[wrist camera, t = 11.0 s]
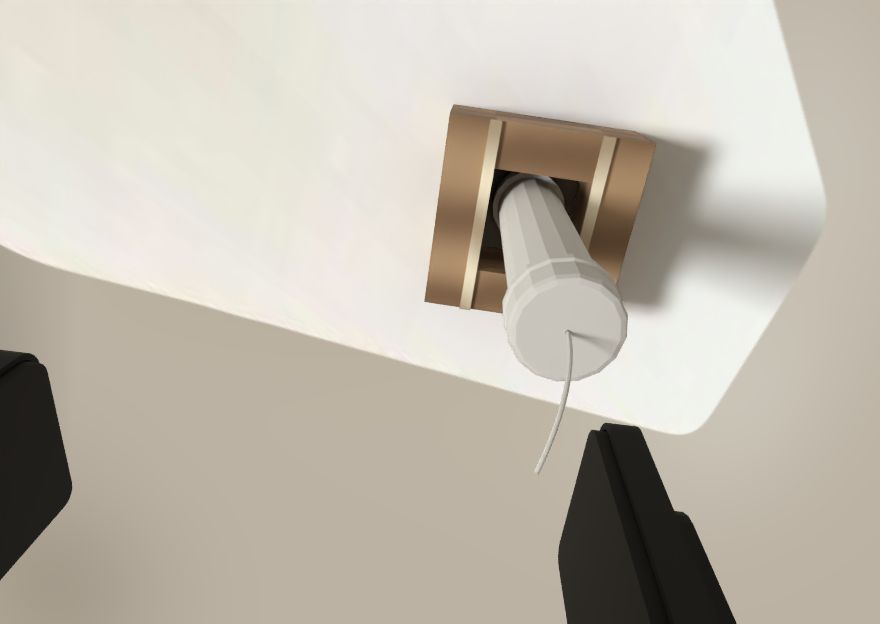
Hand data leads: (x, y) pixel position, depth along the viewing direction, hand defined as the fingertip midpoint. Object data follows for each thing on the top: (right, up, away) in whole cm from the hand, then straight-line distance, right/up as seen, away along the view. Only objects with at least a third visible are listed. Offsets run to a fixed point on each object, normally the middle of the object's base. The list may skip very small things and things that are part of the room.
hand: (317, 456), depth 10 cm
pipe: (+9, +11, +38) cm, 40 cm away
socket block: (+9, +11, +37) cm, 40 cm away
